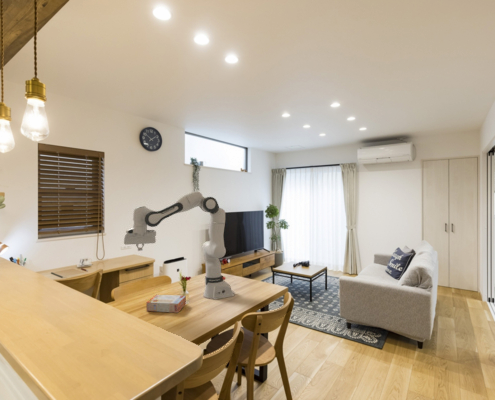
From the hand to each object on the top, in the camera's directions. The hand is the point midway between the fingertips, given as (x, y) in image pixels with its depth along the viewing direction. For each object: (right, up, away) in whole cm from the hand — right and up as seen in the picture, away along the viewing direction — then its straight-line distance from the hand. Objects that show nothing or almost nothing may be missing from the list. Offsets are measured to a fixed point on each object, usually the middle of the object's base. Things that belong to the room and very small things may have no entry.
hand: (140, 250), depth 191 cm
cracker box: (+11, -32, -10) cm, 35 cm away
